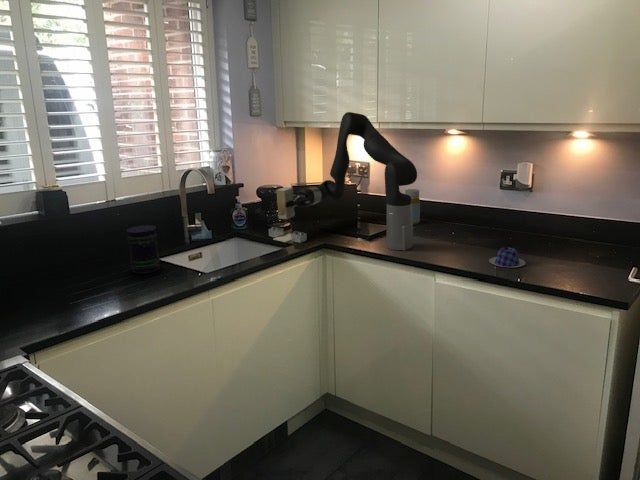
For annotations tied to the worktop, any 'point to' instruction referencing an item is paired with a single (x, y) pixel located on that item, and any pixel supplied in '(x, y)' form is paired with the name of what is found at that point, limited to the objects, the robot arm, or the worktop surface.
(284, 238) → the seat pad
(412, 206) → the bottle
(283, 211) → the skincare box
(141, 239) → the storage jar
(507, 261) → the blue plaid hat
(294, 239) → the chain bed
